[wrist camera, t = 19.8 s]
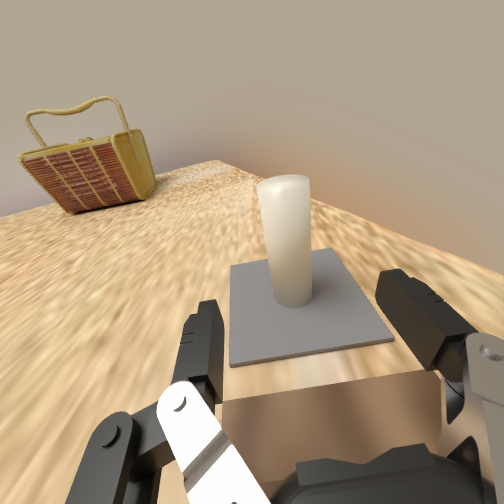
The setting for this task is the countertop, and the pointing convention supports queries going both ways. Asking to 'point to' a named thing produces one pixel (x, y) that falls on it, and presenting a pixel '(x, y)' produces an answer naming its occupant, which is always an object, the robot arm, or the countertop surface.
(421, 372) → the walnut holder
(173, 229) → the countertop surface
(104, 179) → the picnic basket
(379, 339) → the grey mat
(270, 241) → the cream cylinder
